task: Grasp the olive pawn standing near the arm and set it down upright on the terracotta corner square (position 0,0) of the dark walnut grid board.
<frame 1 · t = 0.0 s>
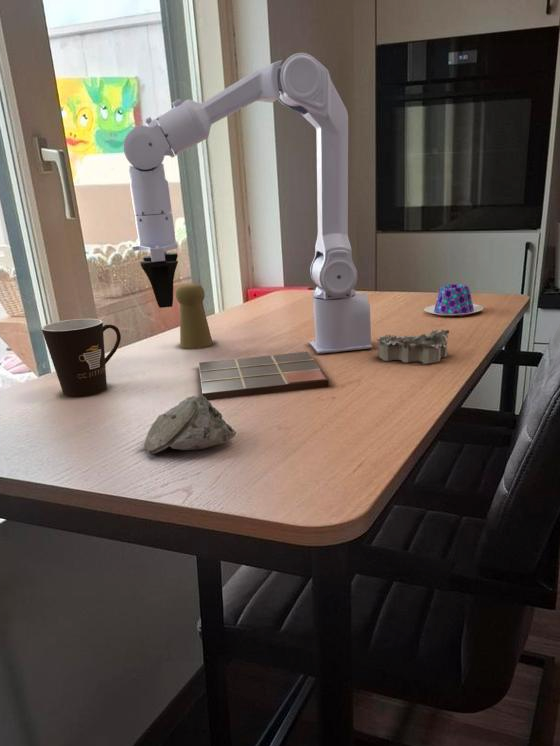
hand: (166, 303, 114), 10 cm above the table, tool pointing down, fingers open, 7 cm apart
pudding: (453, 313, 144), on the table
olive pawn: (196, 345, 131), on the table
egg carton: (412, 358, 113), on the table
coffee mug: (95, 390, 107), on the table
fossilized seashell: (191, 445, 83), on the table
board: (260, 377, 108), on the table
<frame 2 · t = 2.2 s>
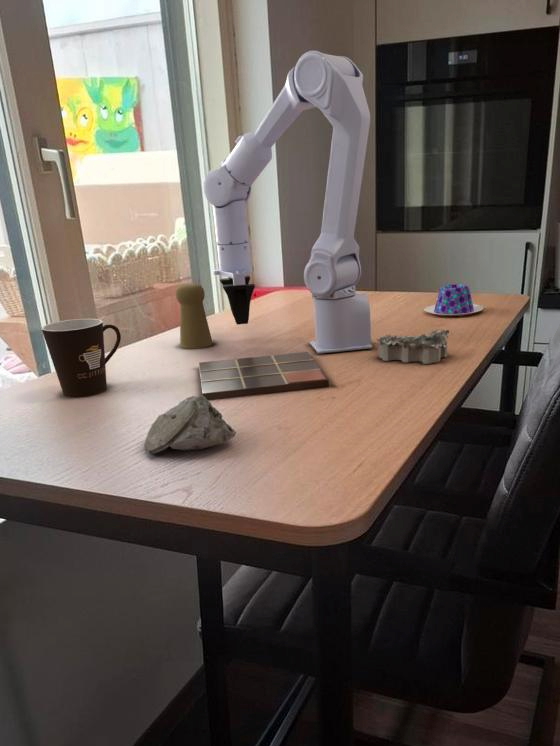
hand: (240, 319, 130), 4 cm above the table, tool pointing down, fingers open, 7 cm apart
nothing on the table moved.
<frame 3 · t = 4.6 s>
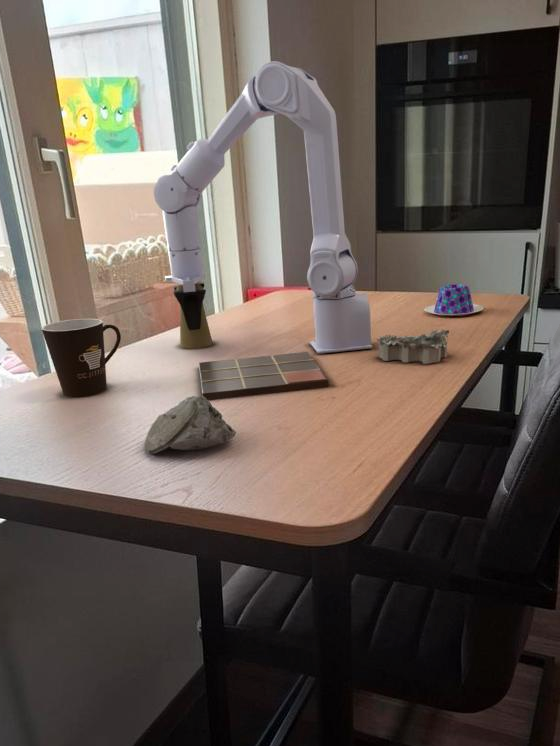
hand: (194, 326, 129), 3 cm above the table, tool pointing down, fingers closed on olive pawn, 5 cm apart
olive pawn: (196, 345, 131), on the table, touching gripper
everything else where it was.
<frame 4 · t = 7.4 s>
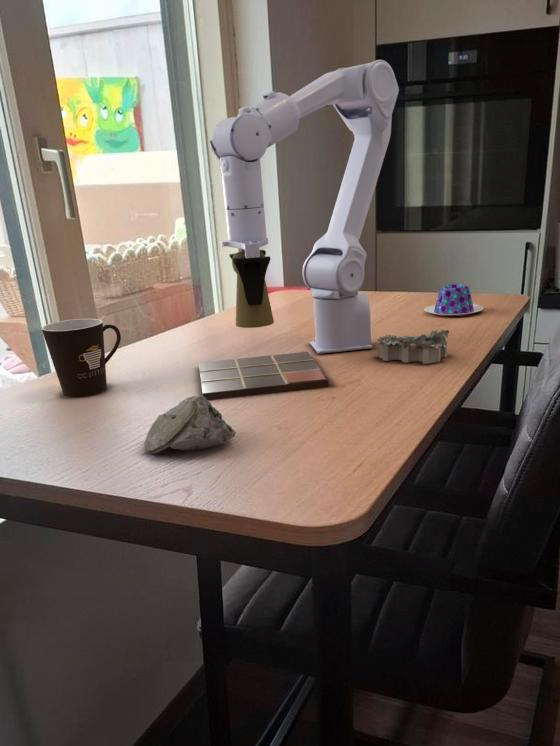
hand: (253, 301, 109), 10 cm above the table, tool pointing down, fingers closed on olive pawn, 5 cm apart
olive pawn: (255, 324, 110), point 7 cm above the table, touching gripper
everything else where it was.
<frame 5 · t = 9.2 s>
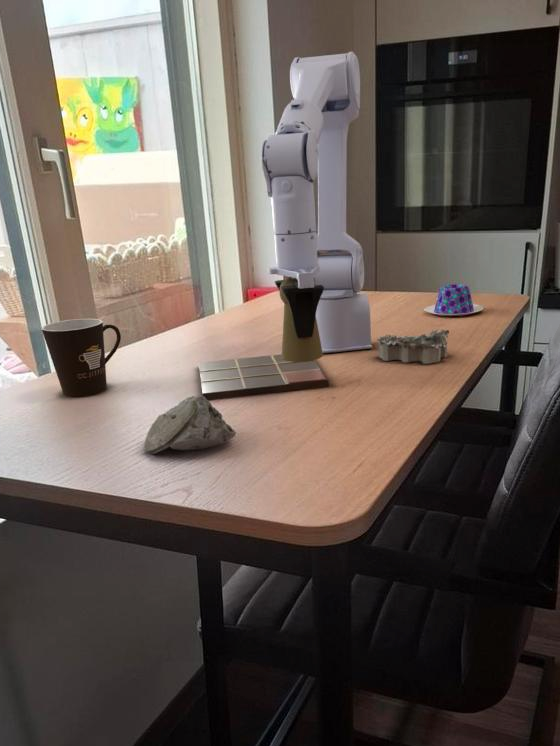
hand: (301, 333, 100), 7 cm above the table, tool pointing down, fingers closed on olive pawn, 5 cm apart
olive pawn: (302, 357, 101), point 4 cm above the table, touching gripper
everything else where it was.
when the fingers open (4 cm above the table, at t = 10.6 s): olive pawn stays where it is, resting on board.
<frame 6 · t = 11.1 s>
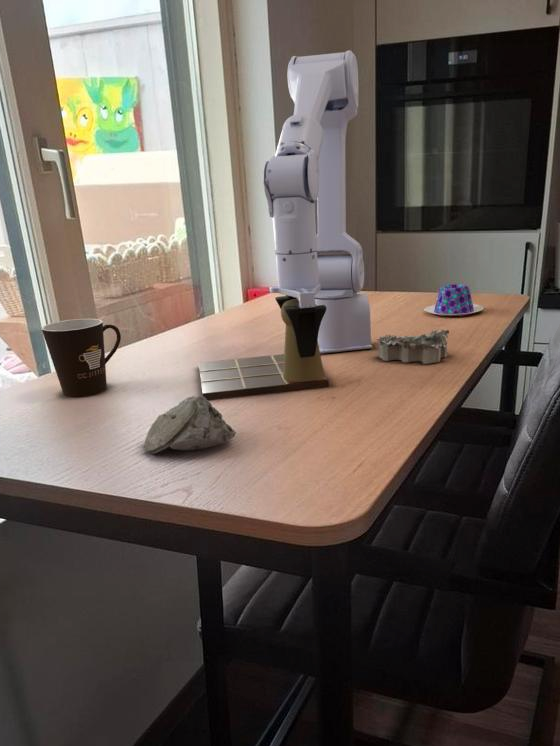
hand: (302, 350, 101), 5 cm above the table, tool pointing down, fingers open, 7 cm apart
olive pawn: (303, 377, 103), point 1 cm above the table, touching board
everything else where it was.
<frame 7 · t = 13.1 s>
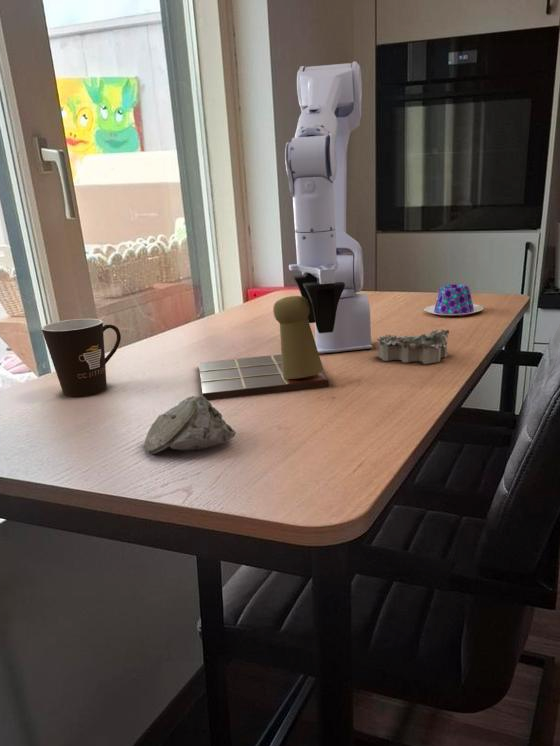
hand: (320, 327, 104), 7 cm above the table, tool pointing down, fingers open, 7 cm apart
olive pawn: (303, 374, 102), point 1 cm above the table, touching board, gripper
everything else where it was.
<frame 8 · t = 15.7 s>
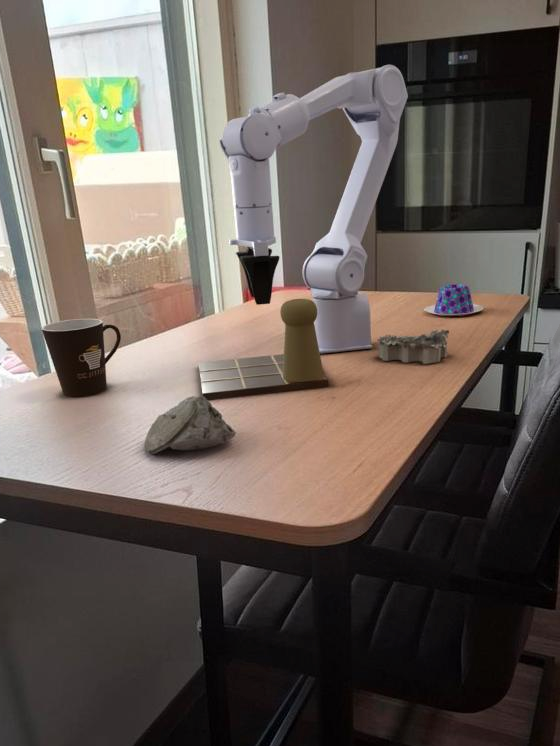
hand: (260, 300, 110), 10 cm above the table, tool pointing down, fingers open, 7 cm apart
olive pawn: (303, 377, 102), point 1 cm above the table, touching board
everything else where it was.
at the end: olive pawn 0.2 cm from the target spot on the board, point 0.9 cm above the board's base; olive pawn tilted 0°; the gripper is holding nothing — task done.
